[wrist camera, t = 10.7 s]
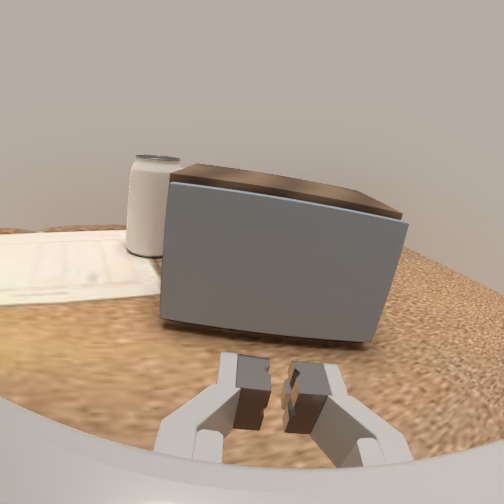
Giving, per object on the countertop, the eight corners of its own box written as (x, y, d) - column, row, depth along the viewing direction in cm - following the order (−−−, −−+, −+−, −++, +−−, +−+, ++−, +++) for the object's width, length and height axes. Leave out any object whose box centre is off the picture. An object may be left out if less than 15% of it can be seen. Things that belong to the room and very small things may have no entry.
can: (116, 251, 38) (122, 155, 34) (141, 238, 44) (148, 154, 40) (161, 262, 37) (170, 160, 33) (181, 247, 43) (191, 159, 40)
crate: (159, 317, 26) (170, 173, 22) (185, 266, 38) (197, 163, 34) (362, 342, 27) (402, 213, 23) (333, 287, 39) (357, 190, 35)
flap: (160, 317, 24) (169, 183, 21) (162, 311, 25) (172, 181, 22) (370, 342, 26) (408, 223, 22) (367, 335, 26) (403, 220, 23)
